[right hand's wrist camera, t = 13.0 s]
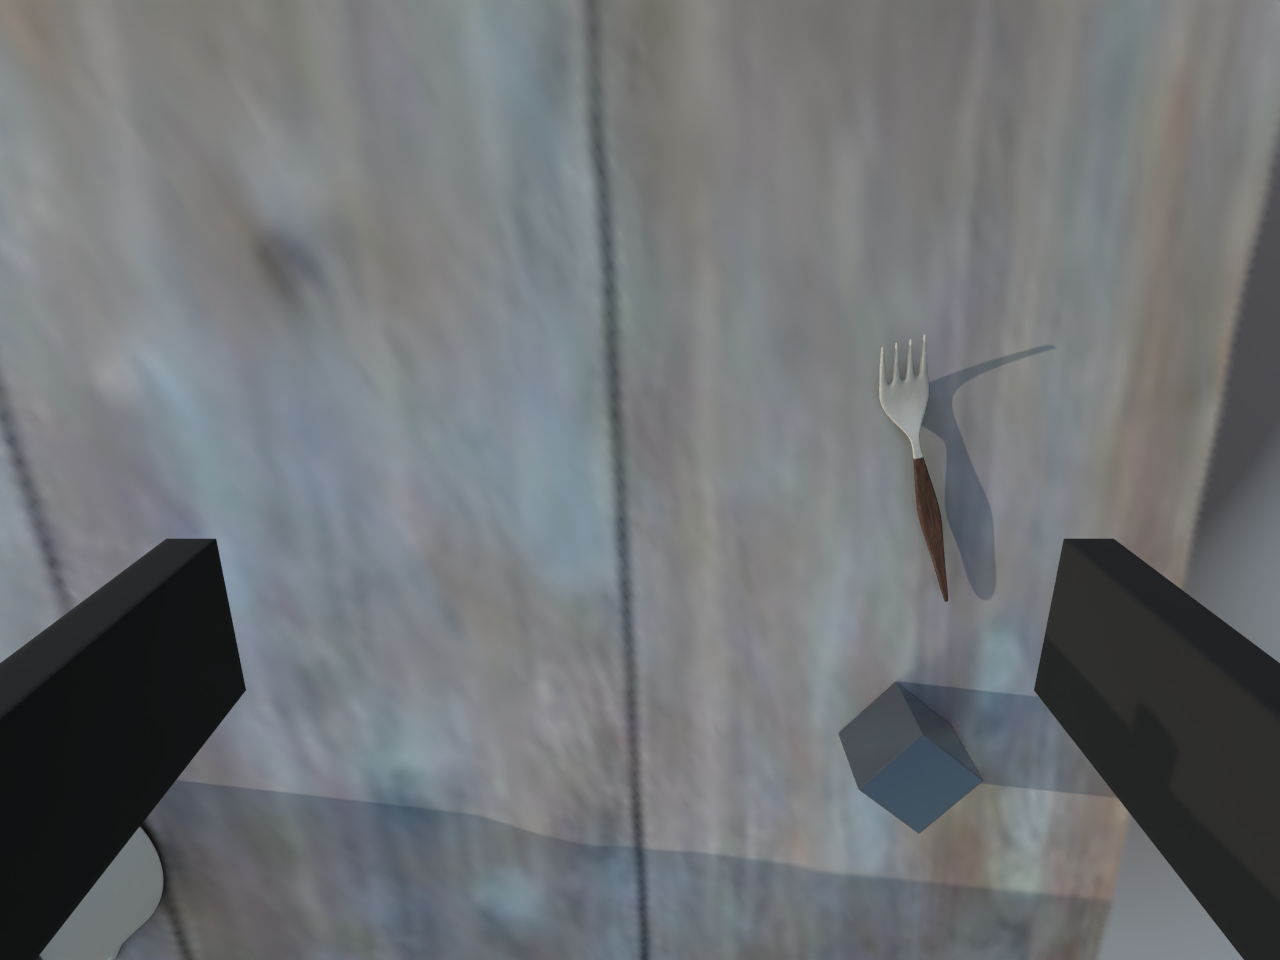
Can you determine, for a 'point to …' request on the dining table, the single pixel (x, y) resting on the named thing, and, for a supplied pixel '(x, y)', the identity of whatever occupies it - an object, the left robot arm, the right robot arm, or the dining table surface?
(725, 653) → the dining table surface
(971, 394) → the dining table surface
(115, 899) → the left robot arm
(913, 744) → the slate cube
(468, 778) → the dining table surface
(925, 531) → the fork
